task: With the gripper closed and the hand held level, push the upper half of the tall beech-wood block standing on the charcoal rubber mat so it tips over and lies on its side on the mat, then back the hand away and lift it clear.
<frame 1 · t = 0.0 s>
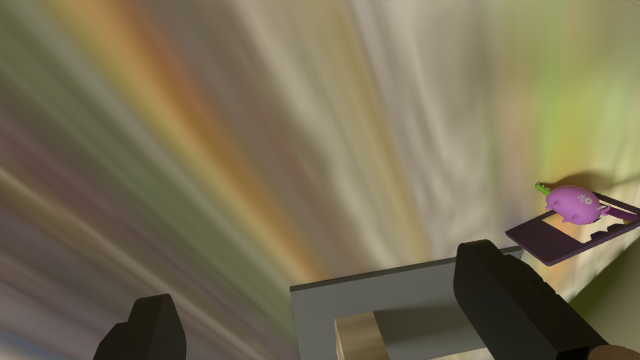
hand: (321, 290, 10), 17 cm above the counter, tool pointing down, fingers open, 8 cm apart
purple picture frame: (544, 195, 34), on the counter
rubber mat: (403, 318, 40), on the counter
beech block: (354, 333, 39), point 1 cm above the counter, touching rubber mat
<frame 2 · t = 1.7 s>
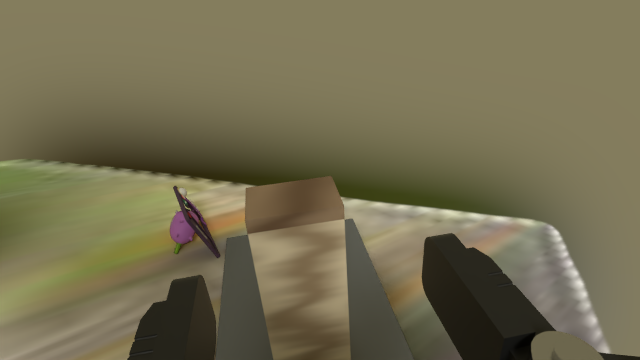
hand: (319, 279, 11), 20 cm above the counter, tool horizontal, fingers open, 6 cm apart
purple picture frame: (193, 245, 46), on the counter
rubber mat: (303, 301, 36), on the counter
beech block: (310, 347, 31), point 1 cm above the counter, touching rubber mat
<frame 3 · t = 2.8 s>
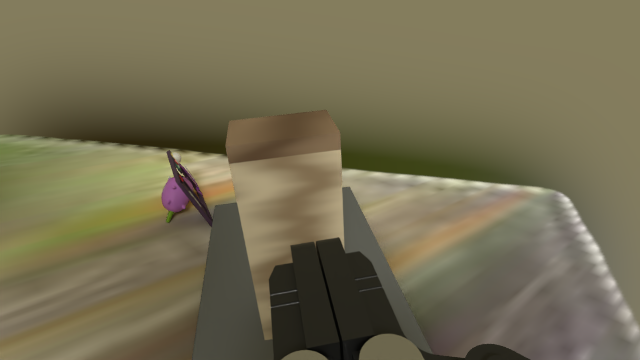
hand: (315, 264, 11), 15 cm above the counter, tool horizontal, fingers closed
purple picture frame: (187, 215, 43), on the counter
rubber mat: (295, 266, 33), on the counter
beech block: (303, 311, 28), point 1 cm above the counter, touching rubber mat
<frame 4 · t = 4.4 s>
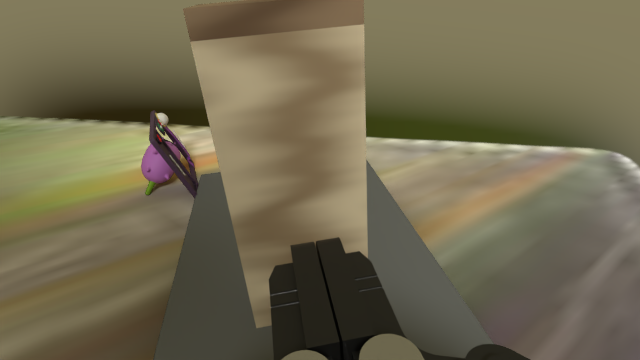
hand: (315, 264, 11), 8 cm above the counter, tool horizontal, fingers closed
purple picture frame: (172, 188, 35), on the counter
rubber mat: (297, 238, 26), on the counter
beech block: (308, 289, 21), point 1 cm above the counter, touching rubber mat
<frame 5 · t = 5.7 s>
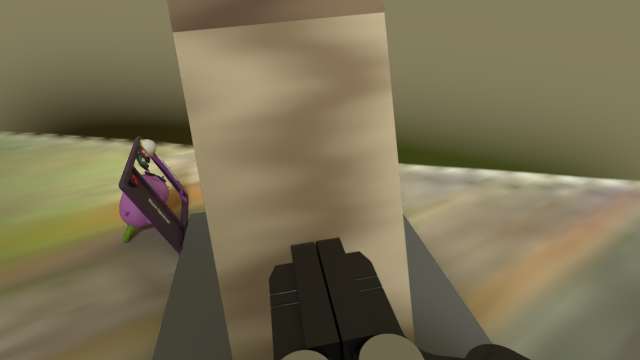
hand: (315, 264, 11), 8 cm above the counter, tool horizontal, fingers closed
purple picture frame: (158, 232, 29), on the counter
rubber mat: (311, 315, 20), on the counter
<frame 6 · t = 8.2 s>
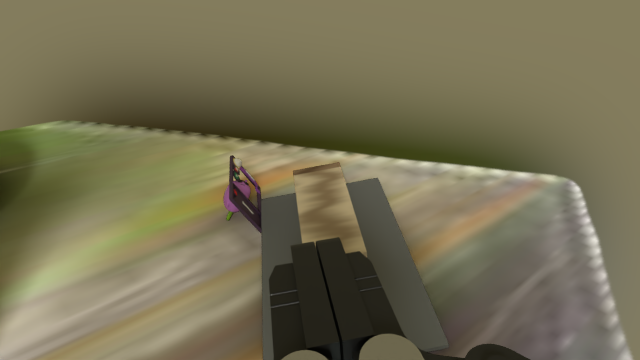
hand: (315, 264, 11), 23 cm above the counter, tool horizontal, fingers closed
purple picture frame: (245, 213, 49), on the counter
rubber mat: (334, 259, 40), on the counter
beech block: (337, 270, 36), point 3 cm above the counter, tilted 90°, touching rubber mat
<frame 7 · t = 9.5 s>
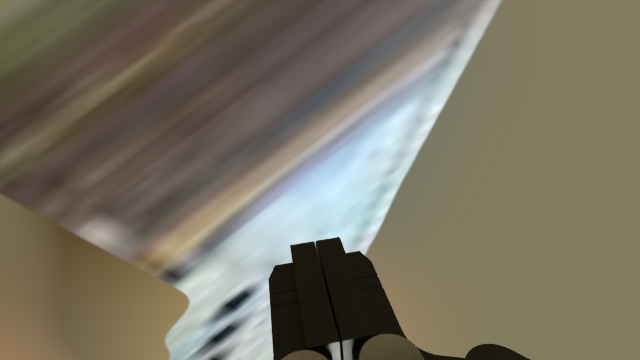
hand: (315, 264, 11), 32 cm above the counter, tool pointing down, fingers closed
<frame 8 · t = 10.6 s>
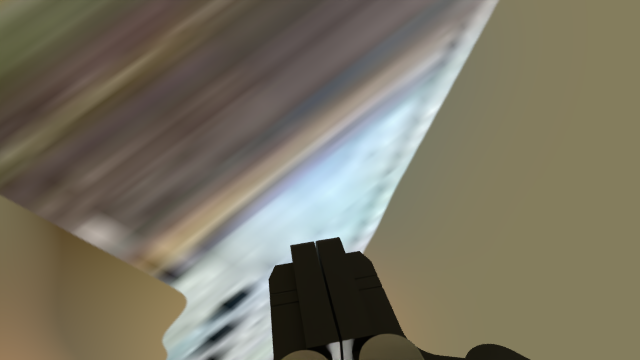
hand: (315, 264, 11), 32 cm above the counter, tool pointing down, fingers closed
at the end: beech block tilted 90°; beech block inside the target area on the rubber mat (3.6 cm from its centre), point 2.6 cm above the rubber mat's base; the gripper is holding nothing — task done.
